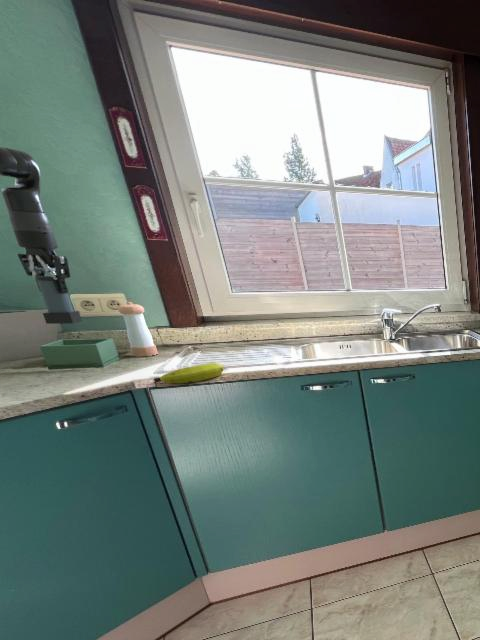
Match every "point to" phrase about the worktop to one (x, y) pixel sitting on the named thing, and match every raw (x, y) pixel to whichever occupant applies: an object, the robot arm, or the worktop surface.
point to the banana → (192, 374)
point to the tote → (79, 353)
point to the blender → (56, 303)
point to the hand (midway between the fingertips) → (54, 292)
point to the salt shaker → (137, 330)
